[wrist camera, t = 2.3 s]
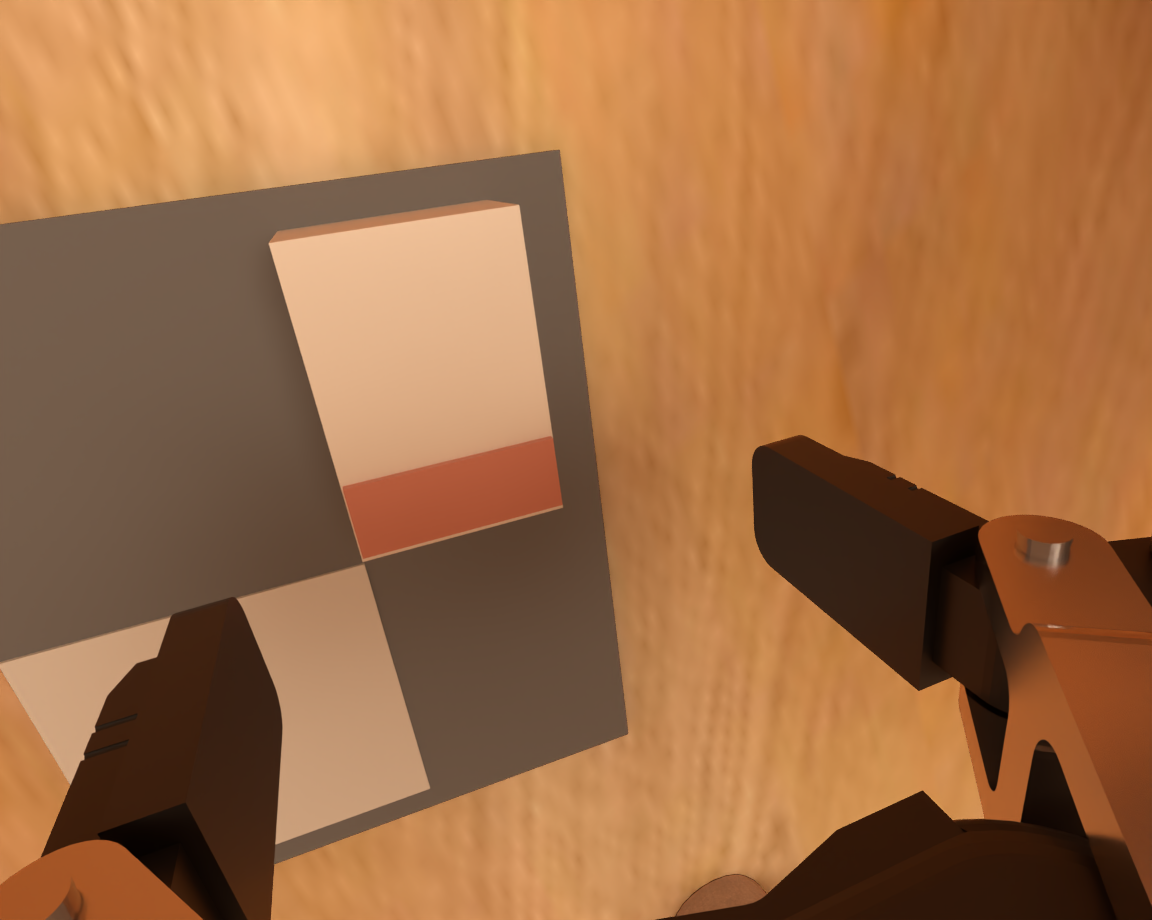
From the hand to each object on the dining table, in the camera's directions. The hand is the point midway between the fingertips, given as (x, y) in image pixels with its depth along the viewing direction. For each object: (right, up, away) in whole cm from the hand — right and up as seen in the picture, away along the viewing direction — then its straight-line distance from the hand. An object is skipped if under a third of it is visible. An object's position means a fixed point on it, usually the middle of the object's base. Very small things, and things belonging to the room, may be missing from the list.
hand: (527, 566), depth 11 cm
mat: (-7, -2, +11) cm, 14 cm away
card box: (-4, +5, +9) cm, 11 cm away
